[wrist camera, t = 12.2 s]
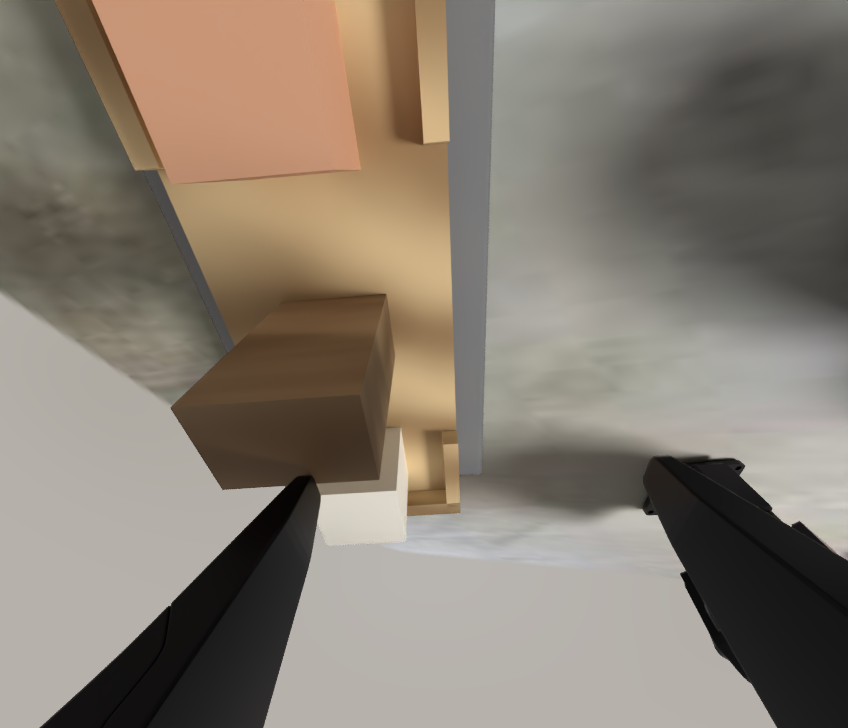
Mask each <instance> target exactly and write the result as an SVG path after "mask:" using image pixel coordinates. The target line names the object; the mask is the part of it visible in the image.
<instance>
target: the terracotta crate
mask: <svg viewBox="0 0 848 728" xmlns="http://www.w3.org/2000/svg"><path fill="white" fill-rule="evenodd" d="M92 2H93V4H94V6H95V9H96V11H97V13H98V15H99V18H100V20H101V22H102V25H103V27H104V29H105V32H106V34H107V36H108V39H109V41H110V43H111V46H112V48H113V50H114V53H115V55H116V57H117V60H118V62H119V64H120V66H121V69H122V71H123V73H124V76H125V78H126V80H127V83H128V85H129V87H130V90H131V92H132V94H133V97H134V99H135V101H136V104H137V106H138V108H139V111H140V113H141V115H142V117H143V120H144V122H145V124H146V127H147V129H148V131H149V134H150V136H151V138H152V141H153V143H154V145H155V148H156V150H157V152H158V155H159V157H160V159H161V162H162V164H163V166H164V168H165V171H166V173H167V175H168V178H169V180H170V182H171V184H189V183H208V182H226V181H244V180H256V179H267V178H278V177H289V176H300V175H311V174H322V173H333V172H344V171H355V170H361V167H360V160H359V154H358V147H357V141H356V134H355V128H354V122H353V115H352V109H351V102H350V96H349V89H348V83H347V76H346V70H345V63H344V57H343V50H342V44H341V37H340V31H339V25H338V18H337V12H336V5H335V2H334V0H92Z"/></svg>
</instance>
